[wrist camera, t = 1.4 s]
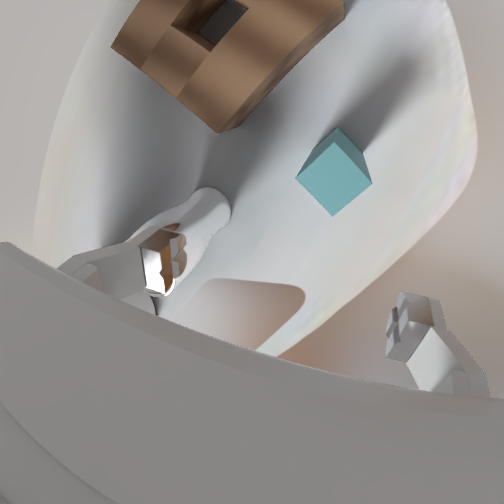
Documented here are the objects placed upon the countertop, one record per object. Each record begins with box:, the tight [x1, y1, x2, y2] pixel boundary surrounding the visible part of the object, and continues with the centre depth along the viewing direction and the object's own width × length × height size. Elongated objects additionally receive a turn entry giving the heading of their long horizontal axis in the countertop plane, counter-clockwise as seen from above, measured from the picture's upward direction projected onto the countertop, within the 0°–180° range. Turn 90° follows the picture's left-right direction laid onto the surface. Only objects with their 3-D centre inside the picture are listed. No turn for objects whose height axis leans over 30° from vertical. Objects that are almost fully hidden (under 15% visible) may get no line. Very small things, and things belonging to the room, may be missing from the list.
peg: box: [295, 127, 372, 217], centre depth 25 cm, size 4×4×12 cm
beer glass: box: [125, 187, 231, 297], centre depth 32 cm, size 7×7×15 cm
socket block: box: [111, 0, 344, 134], centre depth 23 cm, size 18×18×6 cm
